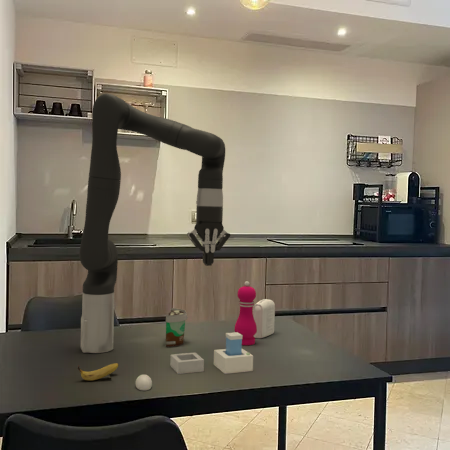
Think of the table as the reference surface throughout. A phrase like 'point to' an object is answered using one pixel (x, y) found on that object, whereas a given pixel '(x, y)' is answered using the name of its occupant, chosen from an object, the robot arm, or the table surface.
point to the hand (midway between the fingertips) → (208, 265)
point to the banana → (98, 372)
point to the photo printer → (264, 317)
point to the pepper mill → (246, 314)
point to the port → (233, 361)
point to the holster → (187, 363)
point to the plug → (233, 344)
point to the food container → (175, 327)
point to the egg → (143, 382)
